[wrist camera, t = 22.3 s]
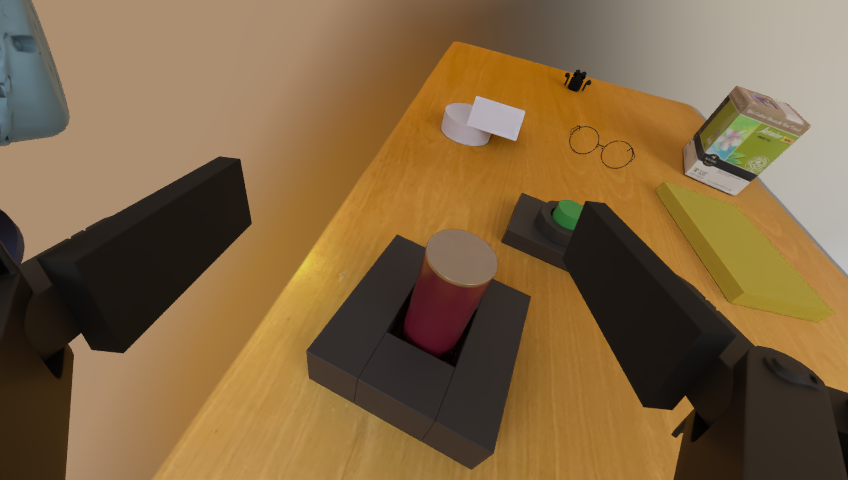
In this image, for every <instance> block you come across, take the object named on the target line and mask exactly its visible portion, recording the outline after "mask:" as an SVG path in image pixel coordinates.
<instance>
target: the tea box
mask: <svg viewBox="0 0 848 480" xmlns="http://www.w3.org/2000/svg"><path fill="white" fill-rule="evenodd" d="M809 128H810V124H808V123H807V122H806V121H805V120H804V119H803V118H802V117H801V116H800V115H799V114H798V113H797V112H796V111H795V110H794V109H793V108H792V107H790V105H789V104H786V103H784V102H781V101H778V100H776V99H773V98H770V97H768V96H765V95H762V94H759V93H756V92H753V91H750V90H747V89H745V88H741V87H738V86H736V87H735V88H734V89H733V90H732V91H731V93H730V94H729V95H728V96H727V97H726V98H725V100H724V101H723V102H722V103H721V104H720V106H719V107H718V108H717V109H716V110H715V111H714V113H713V114H712V115H711V116H710V118H709V119H708V120H707V121H706V122H705V123H704V124H703V125H702V127H701V128H700V129H699V130H698V132H697V133H696V134H695V135H694V136H693V137H692V138H691V140H690V141H689V142H688V143H687V145H686V146H685V147H684V148H683V154H684V168H685V175H687V176H689V177H692V178H694V179H696V180H698V181H700V182H703V183H705V184H707V185H710V186H712V187H714V188H717V189H719V190H721V191H724V192H726V193H729V194H731V195H734V196H735V195H737V194H738V193H739V192H740V191H741V190H743V189H744V188H745V187H746V186H747V185H748V184H749V183H750V182H751V181H752V180H753V179H754V178H755V177H757V176H758V175H759V174H760V173H761V172H762V171H763V170H764V169H766V168H767V167H768V166H769V165H770V164H771V163H772V162H773V161H774V160H775V159H776V158H777V157H779V156H780V155H781V154H782V153H783V152H784V151H785V150H786V149H787V148H788V147H789V146H791V145H792V144H793V143H794V142H795V141H796V140H797V139H798V138H799V137H800V136H802V135H803V134H804V133H805V132H806V131H807V130H808V129H809Z"/></svg>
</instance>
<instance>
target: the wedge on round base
mask: <svg viewBox="0 0 848 480" xmlns="http://www.w3.org/2000/svg"><path fill="white" fill-rule="evenodd" d="M525 112H526V111H524V110H521V109H517V108H514V107H511V106H508V105H505V104H501V103H498V102H495V101H492V100H489V99H486V98H482V97H479V96H476V99H475V102H474V105H470V104H465V103H452V104H449V105H447V106H446V109H445V112H444V116H443V120H442V124H441V130H442V132H443V133H444V134H445V135H446V136H447V137H448V138H450V139H451V140H453V141H455V142H458V143H461V144H464V145H469V146H482V145H485V144H487V143H488V141H489V139H490V136H491V134H495V135H498V136H501V137H505V138H508V139H511V140H514V141H516V140H517V137H518V134H519V131H520V127H521V124H522V121H523V118H524V115H525Z"/></svg>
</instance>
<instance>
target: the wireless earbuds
mask: <svg viewBox="0 0 848 480" xmlns="http://www.w3.org/2000/svg"><path fill="white" fill-rule="evenodd" d="M573 76H574V77H572V79H571V81H570V83H569V85H568V88H569V89H570V90H573V91H578V90H579V89H580V87H581V85H582V83H583V80H584V79H585V77H586V72H582V73H580V70H576V72H575V73H574V74H573ZM565 77H568V78H567V80H566V82H565V84H564V85H566V83H567V81H568V79H569V77H570V73H566V74H565ZM590 84H591V81H590V80H588V81H587V82H586V83H585V85H584V87H583V89H582V92H583V90H584V88H585V87H586V85H590Z"/></svg>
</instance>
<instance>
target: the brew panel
mask: <svg viewBox="0 0 848 480" xmlns="http://www.w3.org/2000/svg"><path fill="white" fill-rule="evenodd" d="M559 202H560V201H549V202H547V203H546V202H543V201H541V200H539V199H536V198H534V197H531V196H529V195H527V194H524V193H522V194H521V196H520V198H519V200H518V202H517V204H516V206H515V208H514V211H513V214H512V216H511V219H510V221H509V224H508V226H507V229H506V232H505V234H504V237H503V239H502V243H505V244H507V245H509V246H511V247H514V248H516V249H518V250H520V251H523V252H525V253H527V254H530V255H532V256H534V257H536V258H539V259H541V260H543V261H545V262H548V263H550V264H552V265H554V266H557V267H559V268H561V269H563V270H566V271H568V270H567V268H566V266H565V264H564V262H563V260H562V258H563V256H564V253H565V251H566V248H567V246H568V243H569V241H570V238H571V236H572V233H573V231H574V230H570V229H568V228H565V227H563V226H561V225H560V224H558V223H557V222H556V221H555V220H554V219H553V217H552V213H553V212H554V210H555V208H556V207H557V205H558V204H559ZM568 272H569V271H568Z"/></svg>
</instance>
